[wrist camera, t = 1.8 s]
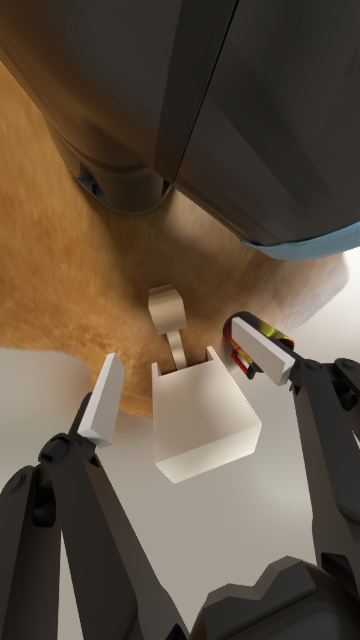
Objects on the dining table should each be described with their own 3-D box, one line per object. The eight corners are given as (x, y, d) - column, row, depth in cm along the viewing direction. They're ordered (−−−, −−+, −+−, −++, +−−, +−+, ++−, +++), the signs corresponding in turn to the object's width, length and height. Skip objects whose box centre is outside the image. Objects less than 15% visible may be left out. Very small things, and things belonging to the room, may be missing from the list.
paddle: (148, 289, 27) (148, 307, 18) (171, 283, 28) (182, 298, 19) (173, 368, 40) (180, 401, 31) (189, 363, 40) (200, 394, 31)
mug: (228, 354, 42) (255, 388, 32) (219, 321, 35) (249, 351, 25) (256, 341, 42) (291, 371, 31) (252, 305, 35) (296, 329, 24)
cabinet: (151, 363, 37) (154, 463, 20) (211, 345, 38) (262, 423, 21) (164, 394, 45) (175, 485, 27) (214, 378, 46) (253, 454, 29)
